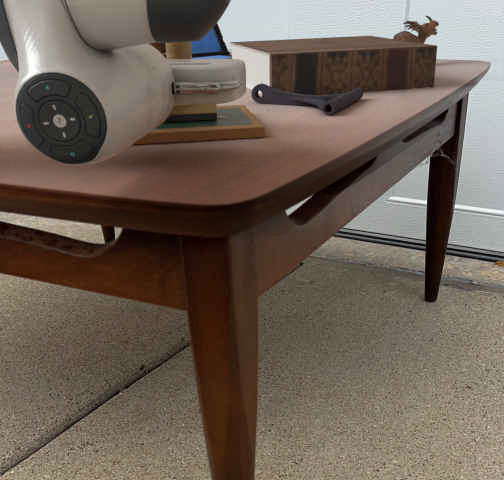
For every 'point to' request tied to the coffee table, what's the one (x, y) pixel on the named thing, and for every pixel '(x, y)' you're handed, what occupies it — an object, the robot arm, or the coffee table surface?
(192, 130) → the board
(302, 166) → the coffee table surface
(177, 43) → the wooden stamp
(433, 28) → the dragon figurine
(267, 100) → the bracket
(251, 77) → the book
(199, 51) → the game console
